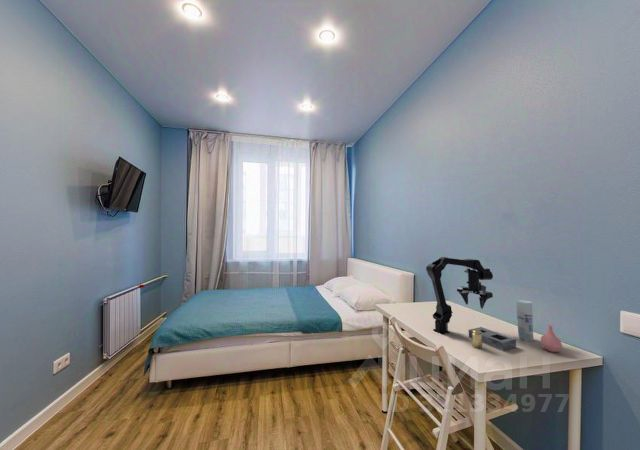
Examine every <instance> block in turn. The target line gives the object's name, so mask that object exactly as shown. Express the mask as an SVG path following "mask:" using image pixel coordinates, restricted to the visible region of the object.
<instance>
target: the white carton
mask: <svg viewBox="0 0 640 450" xmlns="http://www.w3.org/2000/svg"><path fill="white" fill-rule="evenodd" d="M516 317H517V318H516V319H517V333H518V339H519V340H521V341H525V342H529V343H530V342H534V324H533V323H534V322H533V319H534V317H533V302H532V301H530V300H526V299H525V300H524V299H517V300H516Z"/></svg>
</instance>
